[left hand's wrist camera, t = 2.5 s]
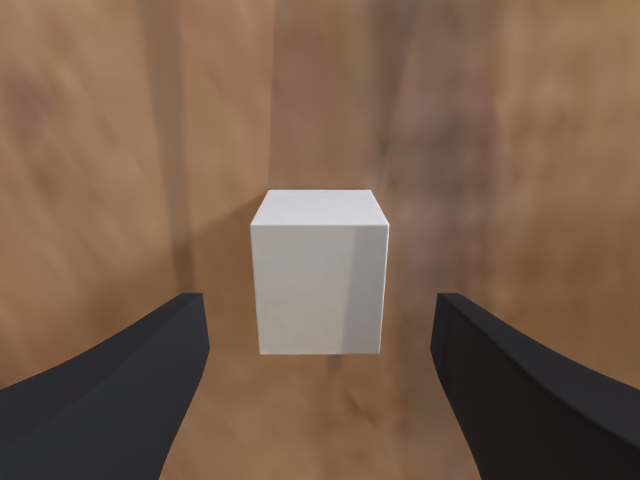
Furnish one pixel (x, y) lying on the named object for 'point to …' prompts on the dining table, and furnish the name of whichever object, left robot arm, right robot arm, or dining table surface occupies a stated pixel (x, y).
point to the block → (319, 271)
